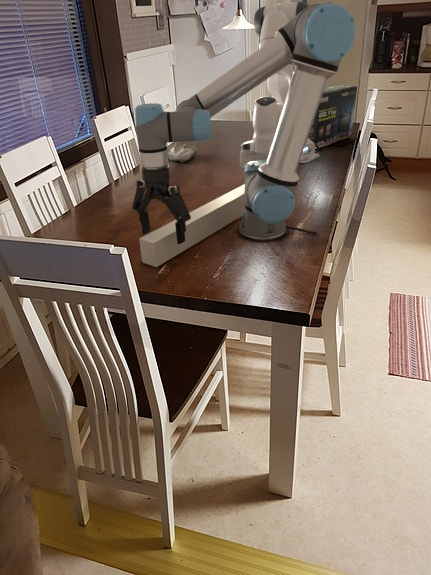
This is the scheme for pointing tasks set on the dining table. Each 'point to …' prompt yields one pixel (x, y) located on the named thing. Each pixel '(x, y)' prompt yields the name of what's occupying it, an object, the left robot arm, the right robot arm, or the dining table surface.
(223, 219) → the beam
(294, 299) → the dining table surface
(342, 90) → the router box
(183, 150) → the fossil
